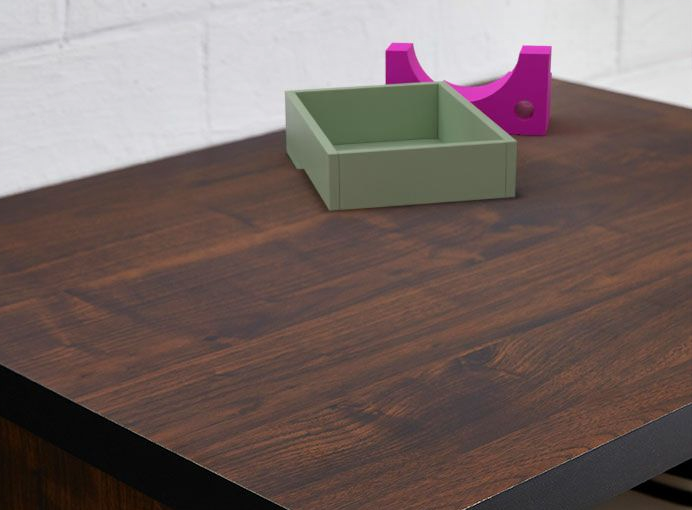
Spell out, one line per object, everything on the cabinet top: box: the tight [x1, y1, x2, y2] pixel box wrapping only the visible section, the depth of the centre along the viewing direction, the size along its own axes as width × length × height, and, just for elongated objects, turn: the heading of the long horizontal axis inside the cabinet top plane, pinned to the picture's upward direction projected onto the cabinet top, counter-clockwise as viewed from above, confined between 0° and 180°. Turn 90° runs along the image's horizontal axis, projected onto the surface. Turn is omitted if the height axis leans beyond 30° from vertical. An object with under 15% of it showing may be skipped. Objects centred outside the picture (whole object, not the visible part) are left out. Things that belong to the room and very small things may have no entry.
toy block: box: [384, 42, 553, 137], centre depth 131 cm, size 15×6×8 cm, turn 78°
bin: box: [284, 80, 518, 212], centre depth 115 cm, size 15×22×6 cm
